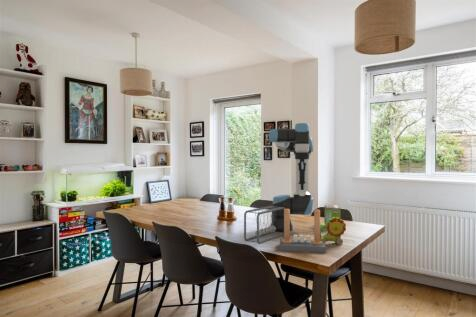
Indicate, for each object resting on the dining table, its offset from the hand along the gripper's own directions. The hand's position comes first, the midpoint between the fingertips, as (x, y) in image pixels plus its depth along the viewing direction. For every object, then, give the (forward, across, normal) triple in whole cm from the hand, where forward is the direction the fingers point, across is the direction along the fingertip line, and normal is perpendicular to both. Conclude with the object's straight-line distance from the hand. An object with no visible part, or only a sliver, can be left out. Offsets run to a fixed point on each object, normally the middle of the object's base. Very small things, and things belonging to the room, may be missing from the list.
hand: (302, 195), depth 174 cm
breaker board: (+29, 0, 0) cm, 29 cm away
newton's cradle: (+29, -20, -21) cm, 41 cm away
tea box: (+28, -58, +23) cm, 68 cm away
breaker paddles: (+25, 0, 0) cm, 25 cm away
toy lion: (+29, -12, +17) cm, 36 cm away
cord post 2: (+26, 0, +8) cm, 27 cm away
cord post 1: (+26, 0, -8) cm, 27 cm away
